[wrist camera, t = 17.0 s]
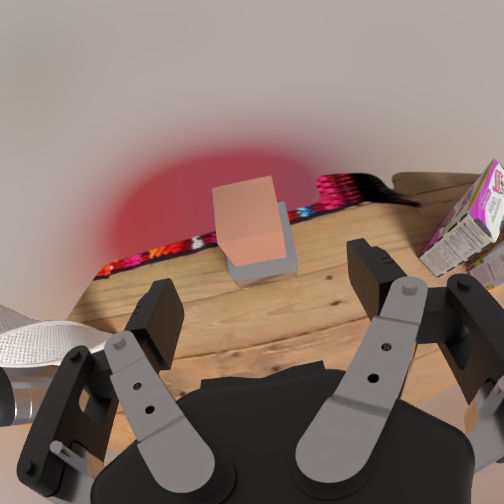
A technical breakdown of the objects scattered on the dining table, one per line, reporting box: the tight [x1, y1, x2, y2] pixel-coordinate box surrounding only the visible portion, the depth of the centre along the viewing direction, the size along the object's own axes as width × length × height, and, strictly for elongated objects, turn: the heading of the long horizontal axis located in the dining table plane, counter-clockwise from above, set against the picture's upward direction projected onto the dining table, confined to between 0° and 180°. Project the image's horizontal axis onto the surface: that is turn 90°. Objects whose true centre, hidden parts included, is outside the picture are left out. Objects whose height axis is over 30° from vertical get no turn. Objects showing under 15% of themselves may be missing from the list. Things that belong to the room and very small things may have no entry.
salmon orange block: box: [212, 176, 286, 267], centre depth 30 cm, size 6×6×8 cm
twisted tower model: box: [0, 305, 116, 368], centre depth 28 cm, size 8×8×28 cm
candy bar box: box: [418, 159, 504, 278], centre depth 30 cm, size 11×5×16 cm, turn 134°
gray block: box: [227, 202, 297, 282], centre depth 36 cm, size 8×8×4 cm
